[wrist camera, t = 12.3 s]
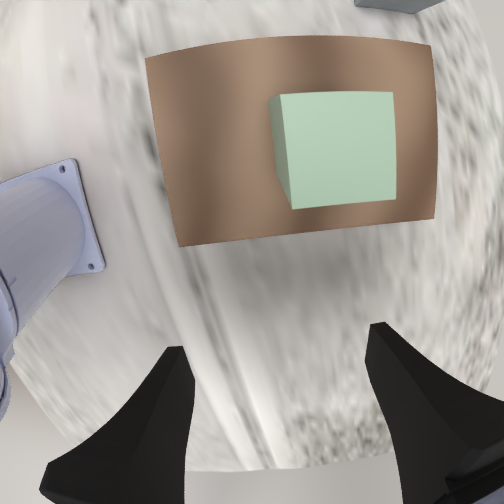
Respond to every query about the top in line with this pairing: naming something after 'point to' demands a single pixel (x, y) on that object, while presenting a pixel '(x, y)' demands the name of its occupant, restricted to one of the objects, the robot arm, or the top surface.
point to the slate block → (398, 4)
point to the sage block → (334, 147)
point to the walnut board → (260, 134)
